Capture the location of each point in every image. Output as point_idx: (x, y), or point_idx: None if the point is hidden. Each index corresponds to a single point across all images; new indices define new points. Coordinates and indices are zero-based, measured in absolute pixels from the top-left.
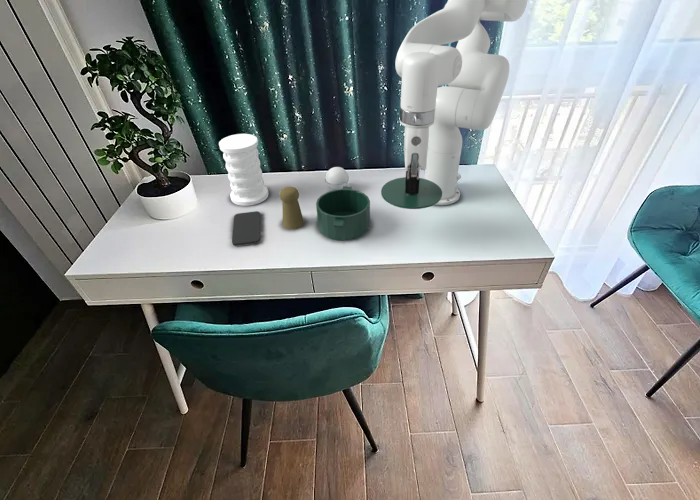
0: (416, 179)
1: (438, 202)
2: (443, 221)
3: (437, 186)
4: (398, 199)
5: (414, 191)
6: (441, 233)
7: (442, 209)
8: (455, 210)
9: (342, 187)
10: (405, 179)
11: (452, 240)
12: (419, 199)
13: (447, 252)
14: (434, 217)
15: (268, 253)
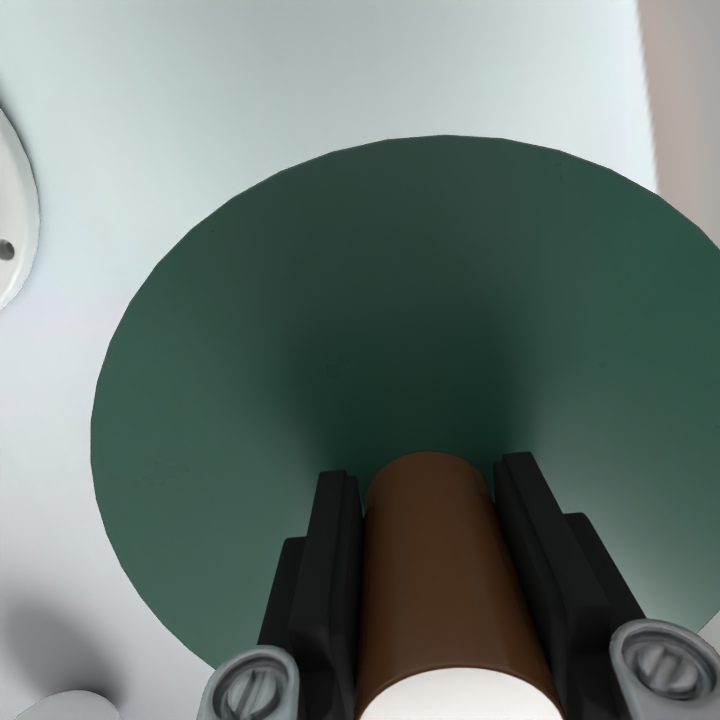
0: (634, 651)
1: (20, 177)
2: (218, 120)
3: (240, 222)
4: None
5: (579, 515)
6: (363, 123)
7: (71, 140)
8: (46, 37)
9: (103, 712)
10: (182, 580)
11: (431, 35)
12: (610, 411)
13: (571, 62)
14: (188, 189)
15: None
